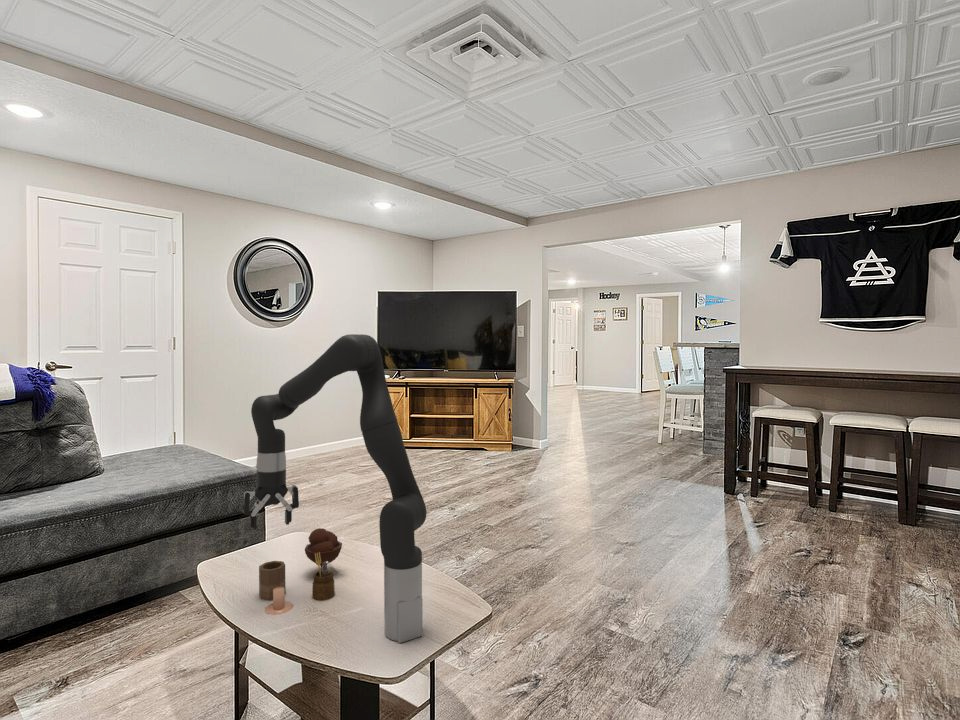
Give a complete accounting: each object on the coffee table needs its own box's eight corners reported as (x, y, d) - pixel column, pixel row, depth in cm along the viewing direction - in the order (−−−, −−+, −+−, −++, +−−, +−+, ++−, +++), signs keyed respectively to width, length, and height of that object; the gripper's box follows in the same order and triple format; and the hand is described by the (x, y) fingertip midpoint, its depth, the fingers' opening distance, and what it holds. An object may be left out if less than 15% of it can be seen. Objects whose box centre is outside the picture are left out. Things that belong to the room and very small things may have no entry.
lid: (296, 613, 141) (295, 591, 141) (267, 621, 137) (266, 597, 137) (290, 602, 147) (289, 580, 147) (262, 609, 144) (262, 587, 143)
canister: (287, 599, 149) (286, 567, 149) (262, 605, 146) (261, 572, 145) (282, 590, 154) (281, 559, 154) (258, 595, 151) (257, 564, 151)
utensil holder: (319, 605, 145) (319, 561, 145) (307, 598, 149) (307, 555, 149) (338, 598, 149) (338, 555, 149) (326, 591, 154) (326, 549, 154)
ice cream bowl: (332, 585, 157) (332, 535, 157) (298, 582, 159) (297, 532, 159) (348, 571, 168) (348, 523, 167) (315, 568, 170) (315, 521, 169)
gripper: (245, 473, 139) (245, 535, 140) (301, 467, 147) (301, 526, 148) (241, 467, 146) (240, 526, 146) (294, 462, 153) (294, 518, 154)
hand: (271, 526), depth 147 cm, fingers open, 8 cm apart
